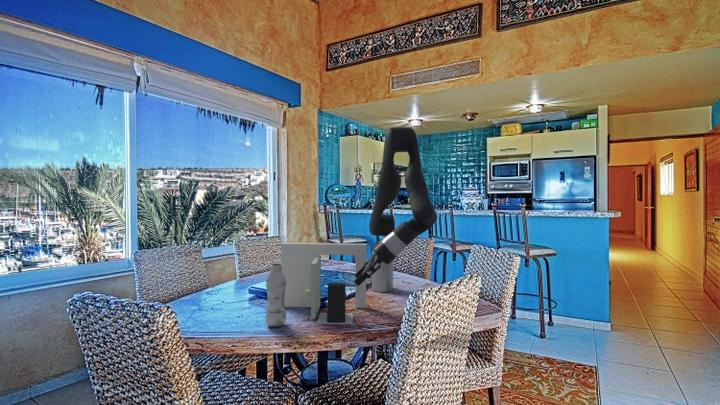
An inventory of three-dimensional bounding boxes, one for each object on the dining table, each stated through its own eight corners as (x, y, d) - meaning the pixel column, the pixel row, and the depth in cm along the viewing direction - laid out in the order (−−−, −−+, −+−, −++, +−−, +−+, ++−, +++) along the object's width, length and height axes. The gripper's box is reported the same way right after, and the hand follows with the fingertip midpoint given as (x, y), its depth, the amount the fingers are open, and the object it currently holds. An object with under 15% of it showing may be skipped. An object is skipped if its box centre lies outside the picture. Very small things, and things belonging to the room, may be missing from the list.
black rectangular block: (344, 322, 127) (345, 287, 126) (326, 322, 127) (327, 287, 126) (345, 313, 136) (345, 280, 135) (328, 313, 136) (328, 280, 135)
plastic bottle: (267, 322, 127) (267, 262, 126) (287, 321, 128) (287, 262, 127) (263, 329, 121) (263, 267, 120) (285, 329, 121) (285, 266, 121)
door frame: (282, 305, 145) (282, 242, 144) (365, 306, 145) (366, 243, 144) (269, 323, 126) (269, 251, 125) (366, 324, 126) (366, 252, 125)
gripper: (381, 237, 137) (349, 268, 138) (383, 243, 123) (347, 277, 123) (396, 251, 137) (364, 282, 138) (399, 259, 123) (363, 294, 124)
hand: (356, 280), depth 131 cm, fingers open, 8 cm apart
